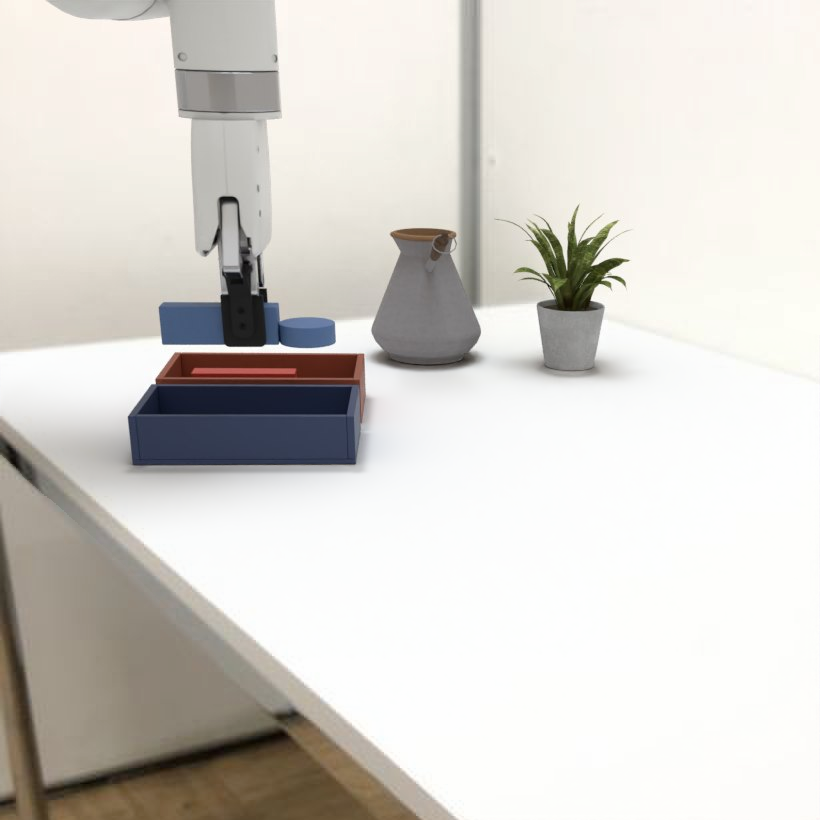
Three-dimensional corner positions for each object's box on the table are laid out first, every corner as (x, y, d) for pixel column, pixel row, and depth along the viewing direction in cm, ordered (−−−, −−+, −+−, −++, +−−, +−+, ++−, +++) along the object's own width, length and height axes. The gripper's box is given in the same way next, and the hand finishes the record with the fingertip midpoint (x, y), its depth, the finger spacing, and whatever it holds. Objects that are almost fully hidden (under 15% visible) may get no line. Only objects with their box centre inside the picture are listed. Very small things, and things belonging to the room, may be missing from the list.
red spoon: (191, 409, 120) (188, 376, 119) (198, 397, 124) (196, 364, 123) (345, 409, 122) (344, 376, 120) (347, 397, 126) (346, 365, 124)
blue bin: (132, 464, 106) (127, 416, 104) (155, 429, 115) (151, 383, 114) (355, 464, 108) (354, 416, 107) (360, 428, 117) (359, 384, 116)
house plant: (493, 381, 134) (493, 211, 128) (486, 350, 147) (486, 194, 141) (635, 382, 136) (643, 214, 130) (616, 351, 149) (622, 197, 143)
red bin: (159, 423, 117) (154, 378, 115) (178, 393, 126) (174, 352, 125) (361, 423, 119) (360, 379, 118) (365, 394, 128) (364, 353, 127)
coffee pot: (367, 345, 147) (362, 203, 142) (472, 343, 150) (472, 203, 144) (386, 395, 128) (381, 232, 123) (506, 392, 131) (507, 232, 125)
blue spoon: (159, 348, 106) (155, 309, 104) (168, 336, 110) (165, 299, 108) (334, 348, 107) (332, 310, 106) (337, 336, 111) (335, 299, 110)
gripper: (193, 91, 108) (213, 322, 115) (158, 101, 94) (183, 365, 101) (289, 93, 109) (303, 322, 116) (269, 103, 94) (286, 365, 102)
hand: (247, 340), depth 108 cm, fingers closed on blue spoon, 2 cm apart
